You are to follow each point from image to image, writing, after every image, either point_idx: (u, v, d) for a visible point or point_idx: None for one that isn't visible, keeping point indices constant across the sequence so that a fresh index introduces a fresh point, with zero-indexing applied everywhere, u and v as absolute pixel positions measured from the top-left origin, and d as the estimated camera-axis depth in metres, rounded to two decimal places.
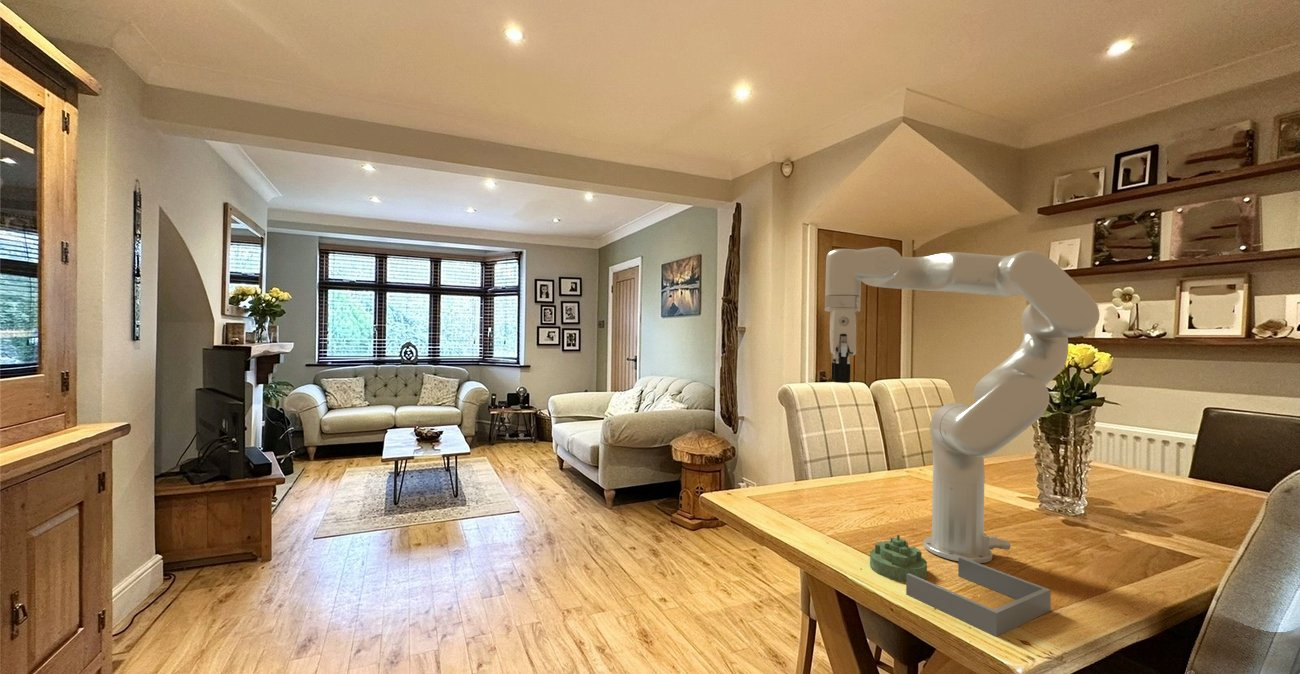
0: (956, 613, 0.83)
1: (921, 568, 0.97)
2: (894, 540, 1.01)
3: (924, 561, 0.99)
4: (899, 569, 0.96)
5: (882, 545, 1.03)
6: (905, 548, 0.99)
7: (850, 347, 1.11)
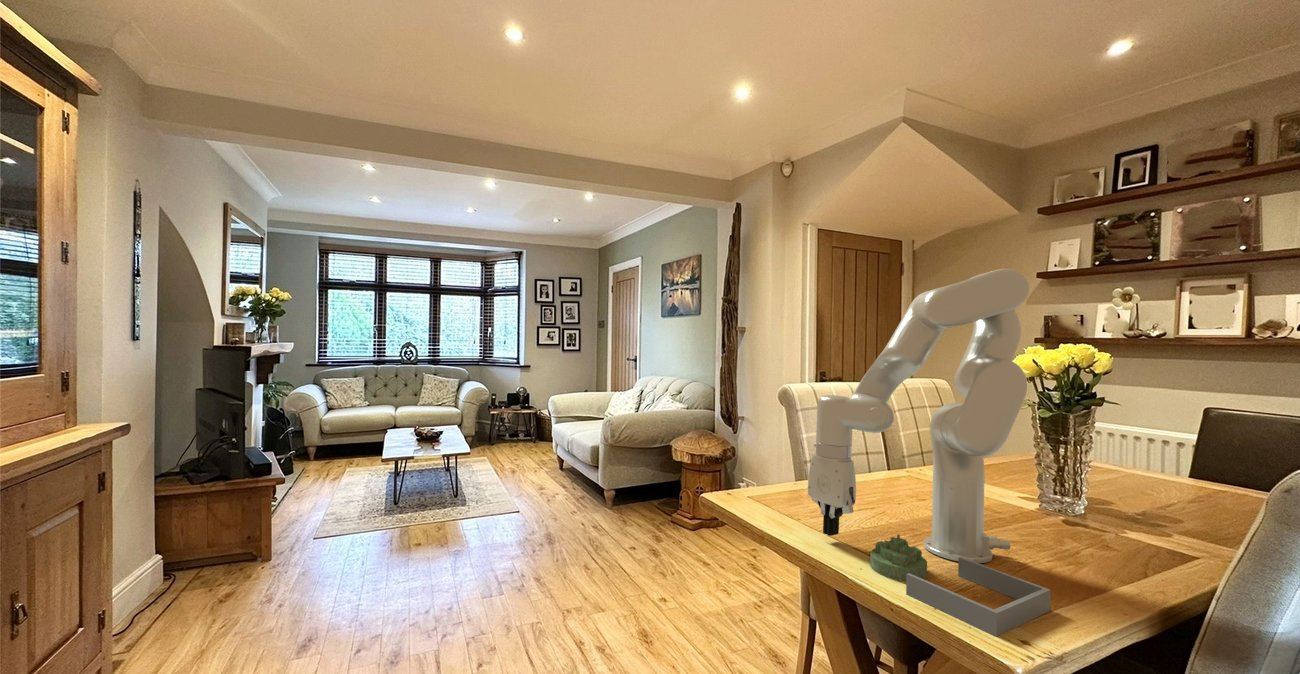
0: (956, 613, 0.83)
1: (921, 567, 0.97)
2: (894, 540, 1.01)
3: (924, 561, 1.00)
4: (899, 569, 0.97)
5: (882, 544, 1.03)
6: (905, 548, 0.99)
7: None
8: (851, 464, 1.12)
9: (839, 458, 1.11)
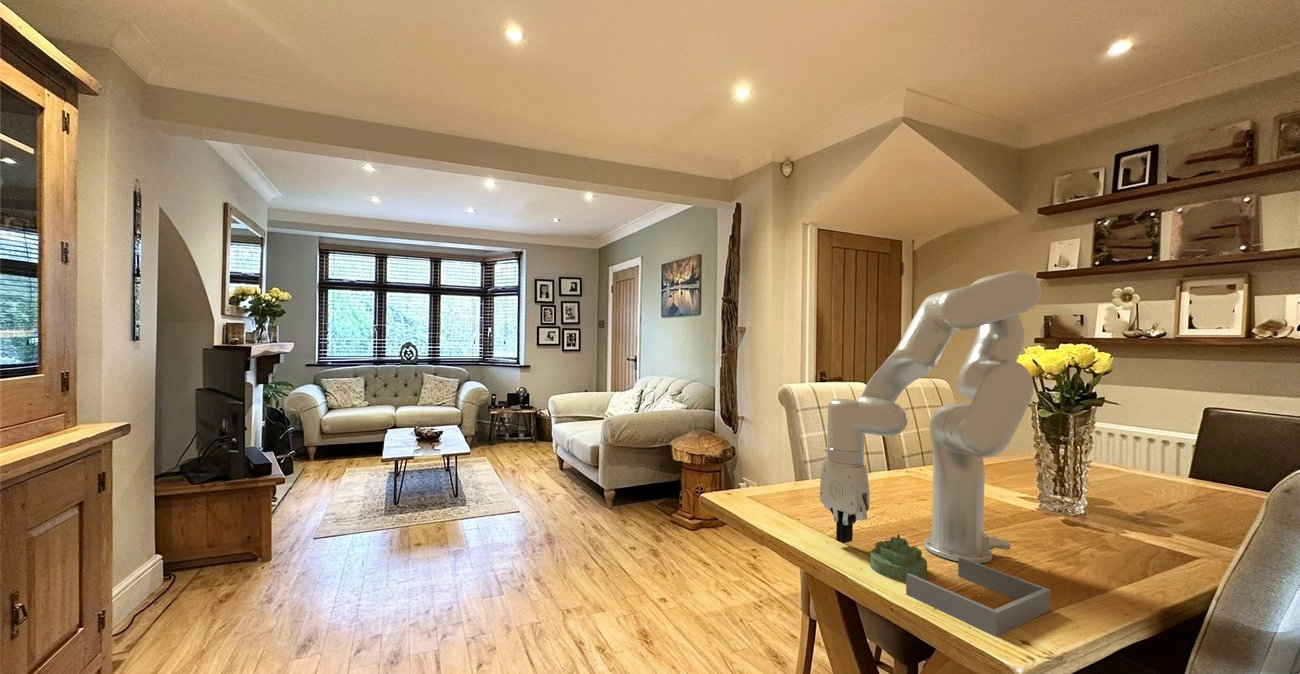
0: (956, 613, 0.83)
1: (921, 567, 0.97)
2: (894, 540, 1.01)
3: (924, 560, 1.00)
4: (899, 568, 0.97)
5: (882, 544, 1.03)
6: (905, 547, 0.99)
7: None
8: (864, 469, 1.09)
9: (851, 463, 1.09)
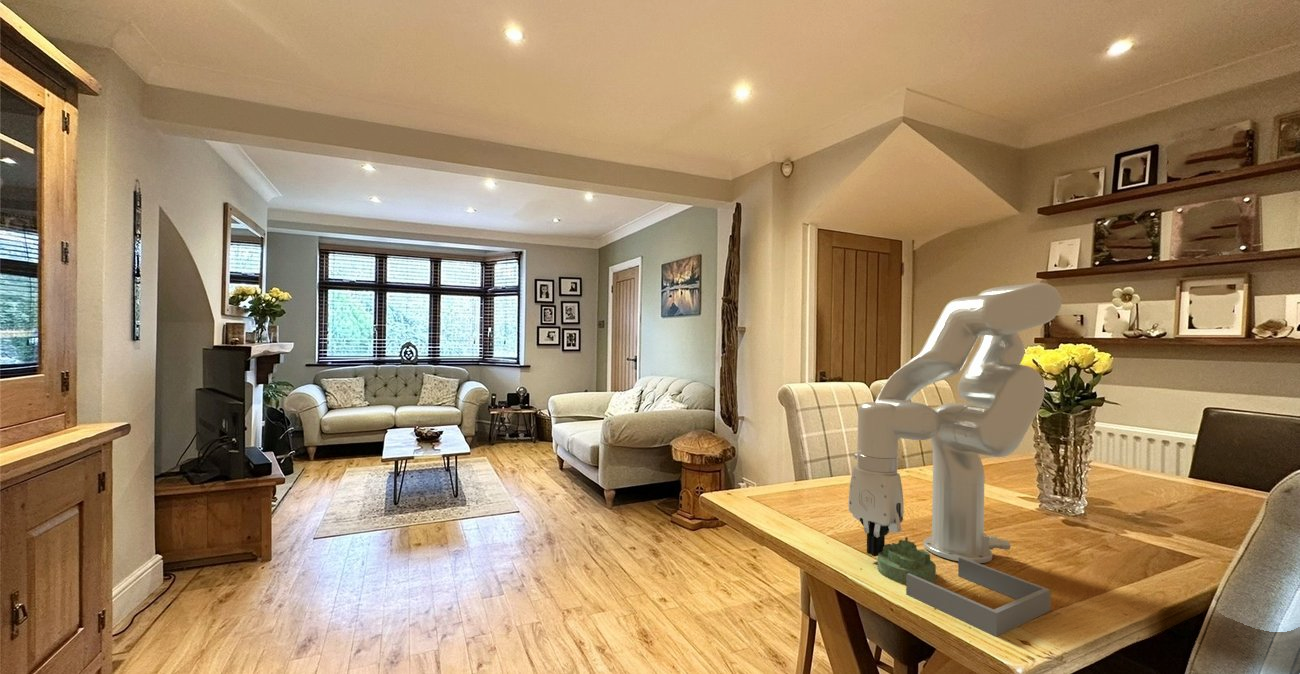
0: (956, 613, 0.83)
1: (930, 571, 0.95)
2: (902, 542, 0.99)
3: (933, 564, 0.98)
4: (907, 572, 0.95)
5: (890, 547, 1.02)
6: (913, 551, 0.97)
7: None
8: (898, 478, 1.02)
9: (884, 471, 1.02)
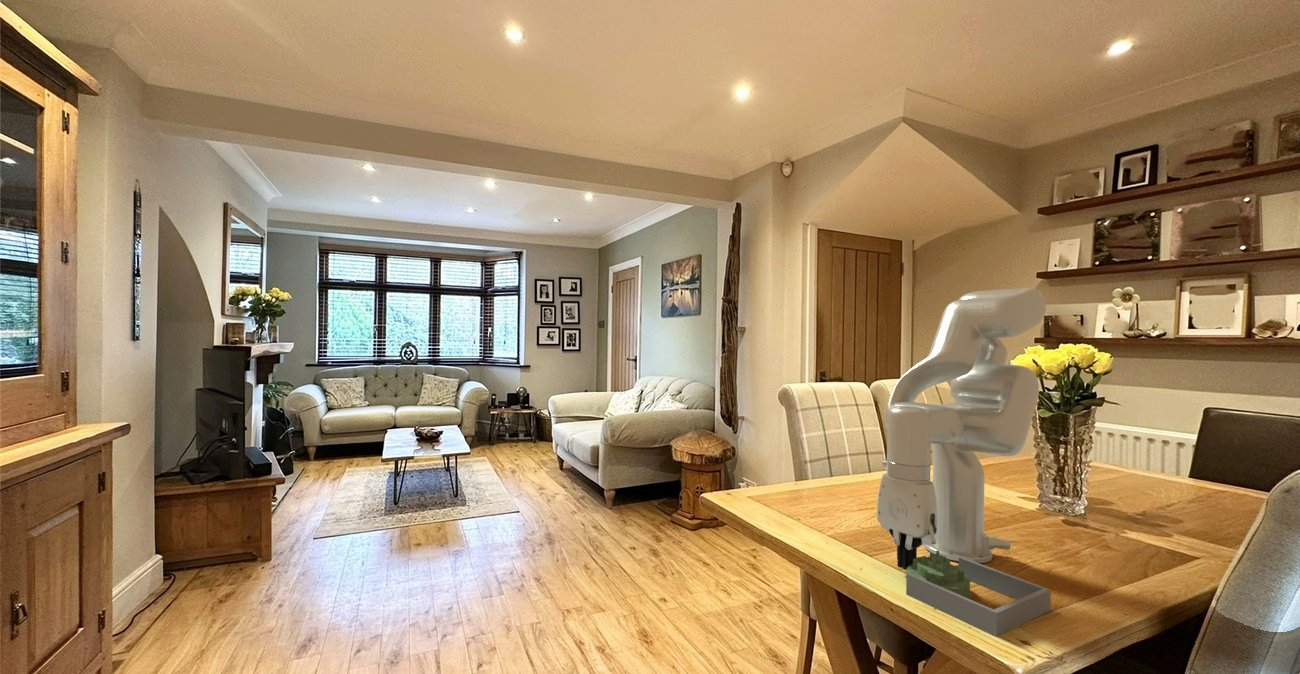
0: (956, 613, 0.83)
1: (960, 589, 0.88)
2: (932, 556, 0.93)
3: (967, 582, 0.91)
4: None
5: (921, 560, 0.96)
6: (943, 565, 0.91)
7: None
8: (932, 487, 0.96)
9: (917, 480, 0.96)
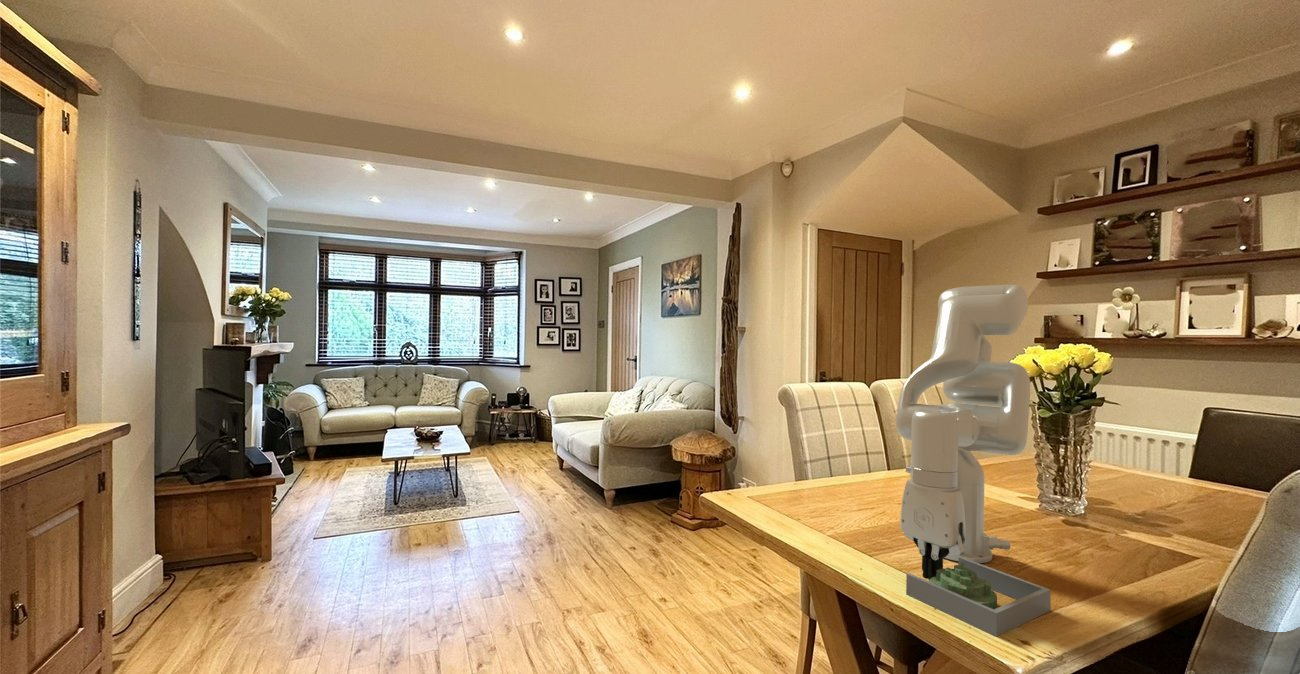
0: (956, 613, 0.83)
1: (984, 604, 0.84)
2: (956, 568, 0.89)
3: (994, 597, 0.86)
4: None
5: (945, 572, 0.91)
6: (967, 578, 0.86)
7: None
8: (960, 494, 0.91)
9: (945, 487, 0.91)
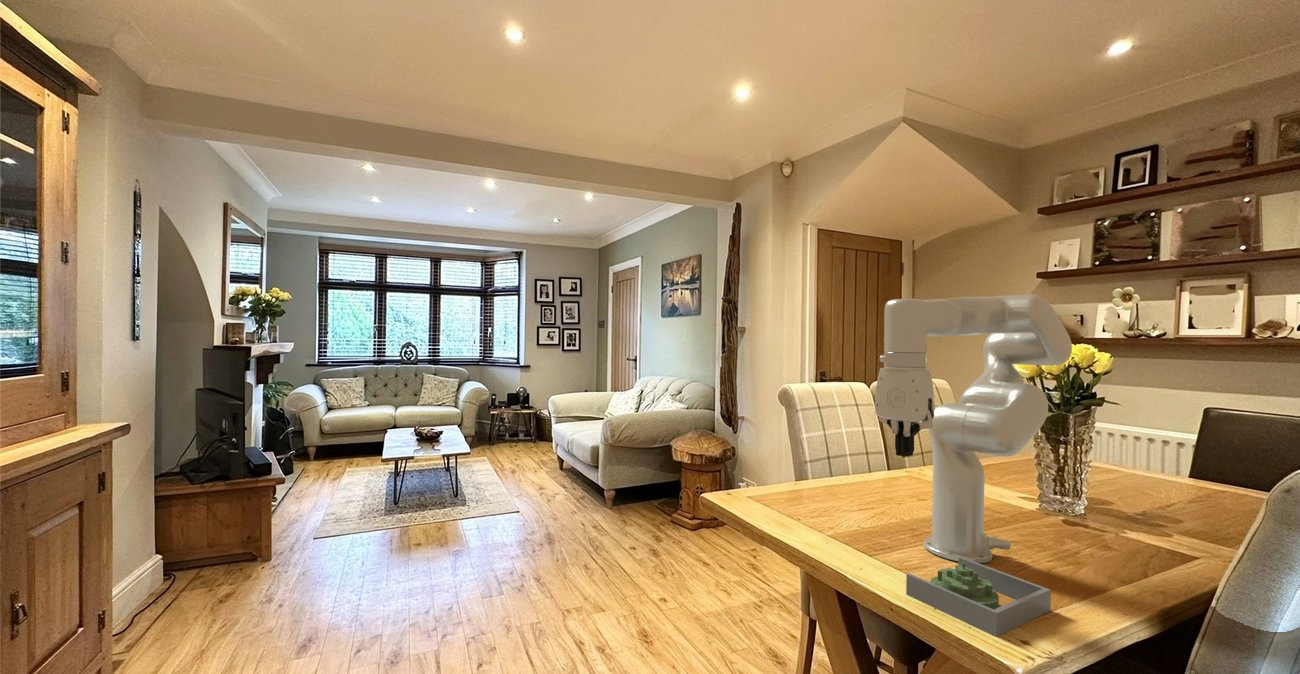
0: (956, 613, 0.83)
1: (986, 604, 0.83)
2: (958, 568, 0.88)
3: (996, 597, 0.85)
4: None
5: (946, 572, 0.91)
6: (969, 578, 0.86)
7: None
8: (929, 373, 0.98)
9: (915, 366, 0.98)
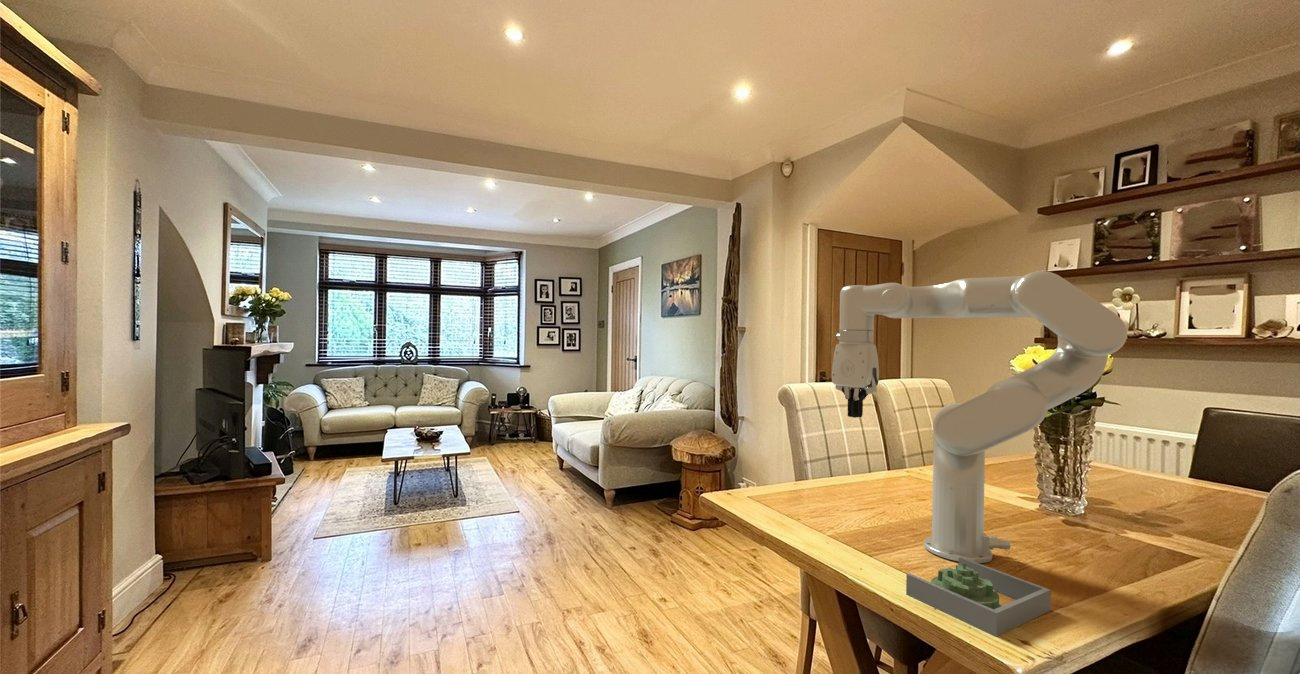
0: (956, 613, 0.83)
1: (986, 604, 0.84)
2: (958, 568, 0.89)
3: (996, 597, 0.86)
4: None
5: (947, 572, 0.91)
6: (969, 578, 0.86)
7: None
8: (874, 347, 1.18)
9: (862, 341, 1.17)
